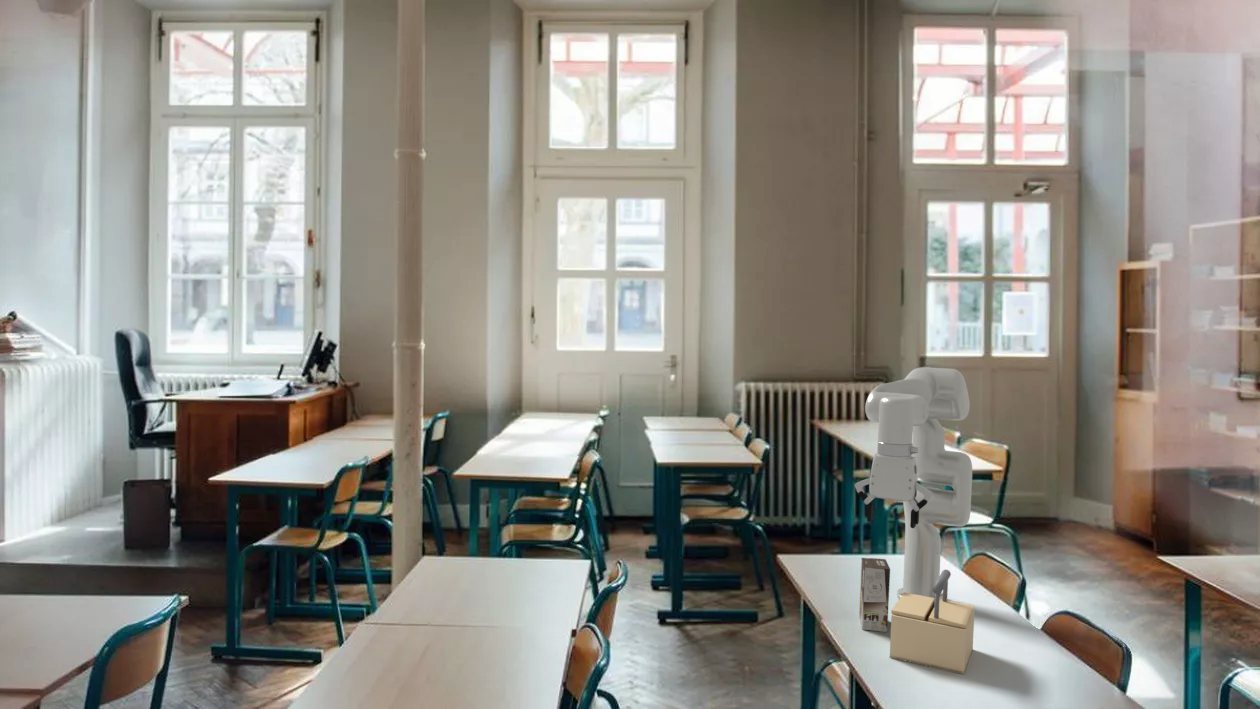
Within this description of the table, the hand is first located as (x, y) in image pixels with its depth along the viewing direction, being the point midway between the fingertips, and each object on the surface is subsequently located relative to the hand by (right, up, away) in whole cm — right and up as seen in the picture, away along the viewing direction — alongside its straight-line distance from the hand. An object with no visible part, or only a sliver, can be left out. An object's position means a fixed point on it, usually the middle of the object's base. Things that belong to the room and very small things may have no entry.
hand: (891, 523), depth 183 cm
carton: (+11, -31, +4) cm, 33 cm away
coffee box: (+2, -31, +21) cm, 37 cm away
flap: (+14, -21, +1) cm, 26 cm away
